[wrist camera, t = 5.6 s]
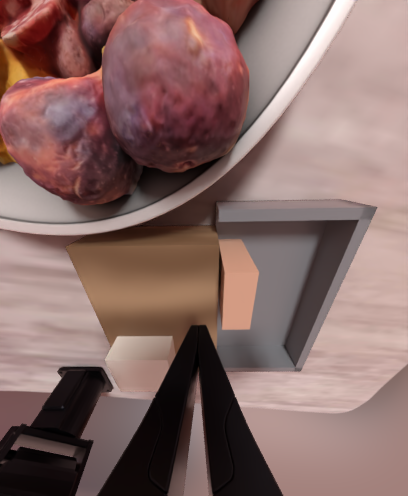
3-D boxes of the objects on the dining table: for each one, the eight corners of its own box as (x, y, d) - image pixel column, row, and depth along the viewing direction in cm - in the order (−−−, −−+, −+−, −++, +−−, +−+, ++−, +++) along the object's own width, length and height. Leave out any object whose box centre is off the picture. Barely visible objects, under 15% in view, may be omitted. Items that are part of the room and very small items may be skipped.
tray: (288, 345, 21) (300, 371, 18) (213, 346, 21) (215, 371, 18) (340, 199, 13) (377, 207, 10) (216, 201, 13) (218, 209, 10)
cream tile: (177, 367, 16) (174, 391, 14) (130, 367, 16) (120, 391, 14) (172, 336, 14) (167, 360, 12) (117, 336, 14) (104, 360, 12)
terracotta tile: (217, 284, 16) (236, 284, 16) (222, 329, 11) (249, 329, 11) (218, 239, 14) (240, 238, 14) (224, 272, 9) (259, 272, 9)
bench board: (214, 336, 20) (216, 372, 17) (137, 336, 20) (122, 372, 17) (215, 225, 14) (219, 244, 10) (101, 227, 14) (65, 247, 10)
